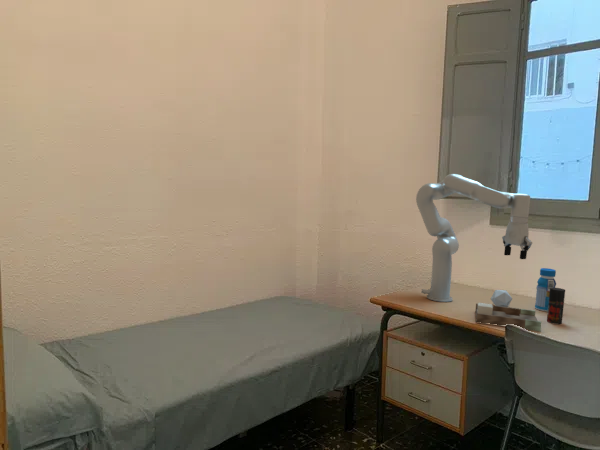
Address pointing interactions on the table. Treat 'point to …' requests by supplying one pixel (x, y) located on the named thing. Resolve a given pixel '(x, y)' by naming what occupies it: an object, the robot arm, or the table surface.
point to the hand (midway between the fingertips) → (514, 257)
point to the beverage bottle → (544, 288)
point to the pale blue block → (485, 308)
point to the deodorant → (556, 305)
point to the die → (501, 298)
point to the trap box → (510, 317)
